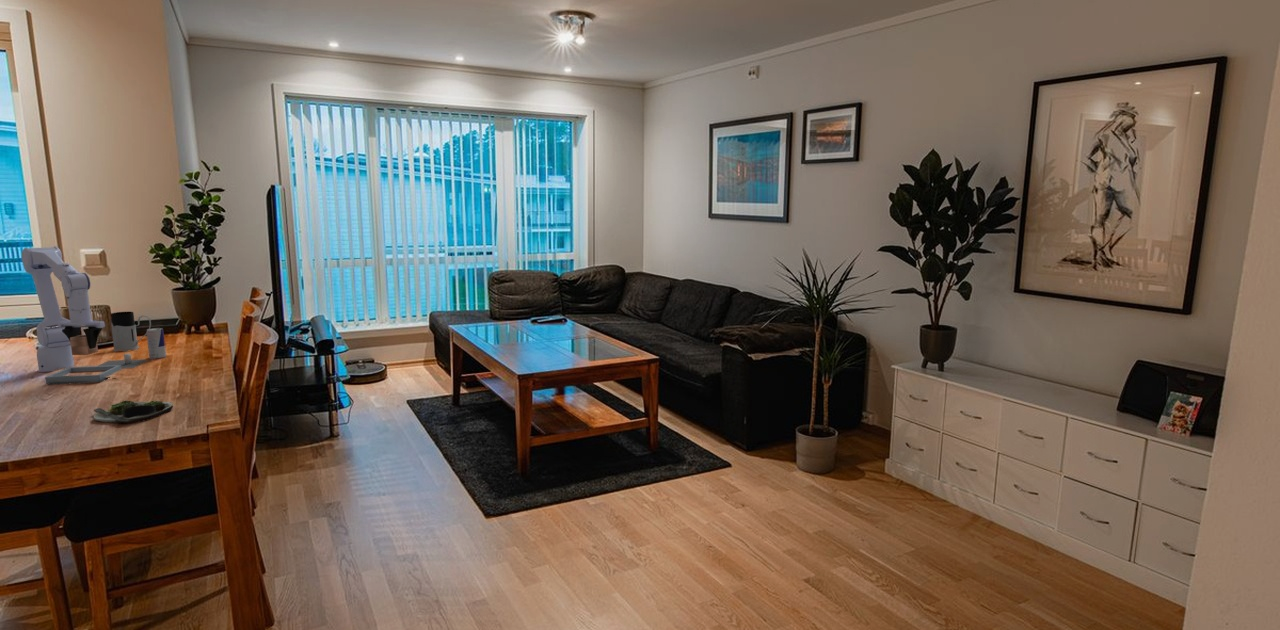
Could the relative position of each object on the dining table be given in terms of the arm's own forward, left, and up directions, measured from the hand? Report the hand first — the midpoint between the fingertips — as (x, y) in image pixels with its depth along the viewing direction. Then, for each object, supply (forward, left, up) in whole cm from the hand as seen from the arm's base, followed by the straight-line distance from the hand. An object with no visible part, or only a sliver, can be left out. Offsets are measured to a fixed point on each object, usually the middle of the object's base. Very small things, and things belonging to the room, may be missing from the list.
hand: (84, 347), depth 237 cm
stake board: (+4, +14, -10) cm, 18 cm away
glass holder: (-6, +46, -11) cm, 48 cm away
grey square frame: (0, -1, -10) cm, 10 cm away
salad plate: (+36, -48, -11) cm, 61 cm away
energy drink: (+12, +24, -11) cm, 29 cm away
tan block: (0, 0, -2) cm, 2 cm away
